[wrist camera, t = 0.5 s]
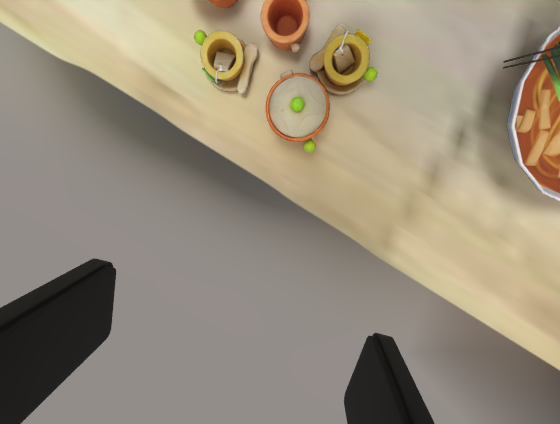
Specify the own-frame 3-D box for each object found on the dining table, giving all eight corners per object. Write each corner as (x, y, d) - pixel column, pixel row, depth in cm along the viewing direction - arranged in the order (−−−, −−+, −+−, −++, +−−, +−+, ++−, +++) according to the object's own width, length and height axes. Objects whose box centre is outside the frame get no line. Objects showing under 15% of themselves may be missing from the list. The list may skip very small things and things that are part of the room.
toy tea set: (385, 60, 34) (418, 25, 24) (317, 161, 37) (322, 165, 28) (214, -63, 32) (179, -151, 23) (160, 56, 36) (111, 22, 26)
